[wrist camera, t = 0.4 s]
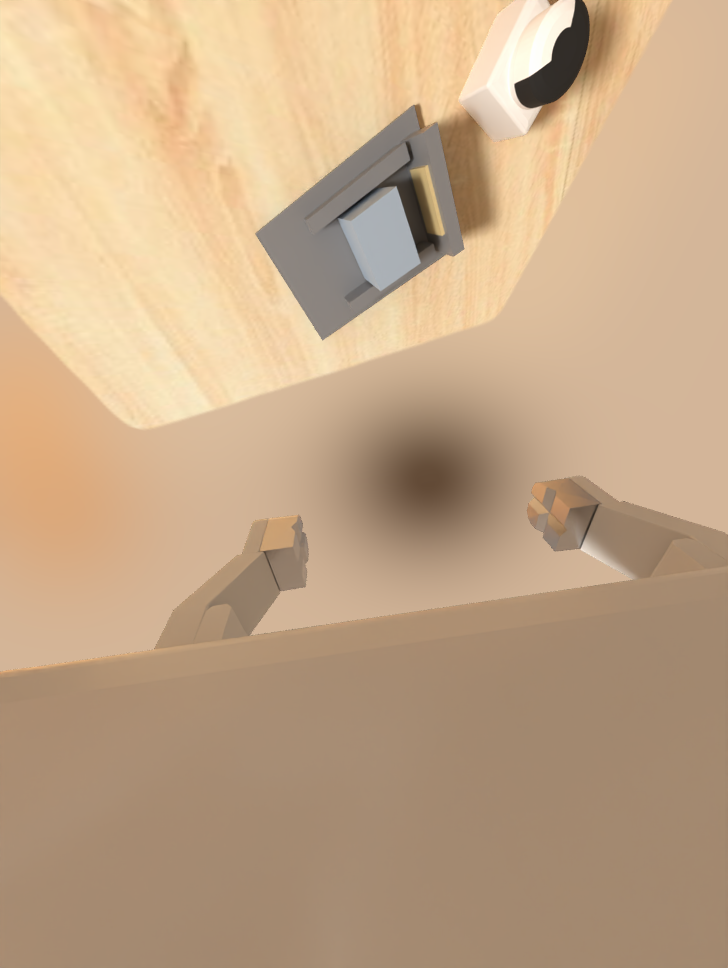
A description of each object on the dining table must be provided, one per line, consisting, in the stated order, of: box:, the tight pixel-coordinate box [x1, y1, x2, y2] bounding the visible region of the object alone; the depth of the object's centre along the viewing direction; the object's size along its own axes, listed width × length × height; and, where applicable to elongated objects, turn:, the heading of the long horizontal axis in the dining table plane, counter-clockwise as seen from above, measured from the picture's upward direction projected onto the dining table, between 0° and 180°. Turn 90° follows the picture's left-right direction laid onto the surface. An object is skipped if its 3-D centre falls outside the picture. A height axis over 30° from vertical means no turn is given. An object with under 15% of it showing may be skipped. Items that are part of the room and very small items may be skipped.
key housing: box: [255, 105, 464, 340], centre depth 41 cm, size 24×16×9 cm, turn 119°
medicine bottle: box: [459, 0, 590, 142], centre depth 33 cm, size 7×7×12 cm
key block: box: [338, 186, 421, 291], centre depth 40 cm, size 6×8×9 cm
